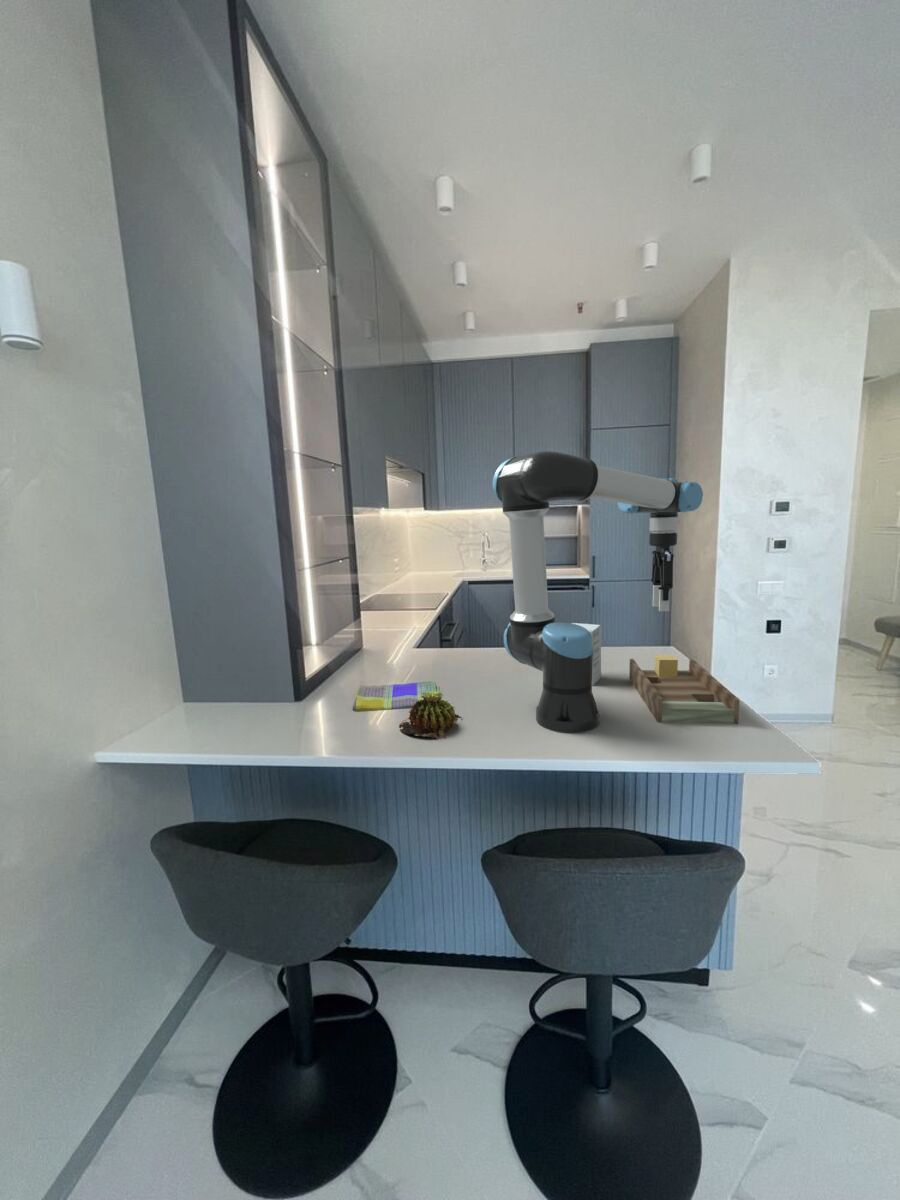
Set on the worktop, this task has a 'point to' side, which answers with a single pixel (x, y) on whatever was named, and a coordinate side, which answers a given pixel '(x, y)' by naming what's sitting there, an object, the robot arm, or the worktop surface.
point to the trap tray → (685, 696)
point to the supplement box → (595, 649)
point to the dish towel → (391, 696)
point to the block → (666, 665)
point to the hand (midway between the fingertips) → (660, 608)
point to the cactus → (430, 717)
